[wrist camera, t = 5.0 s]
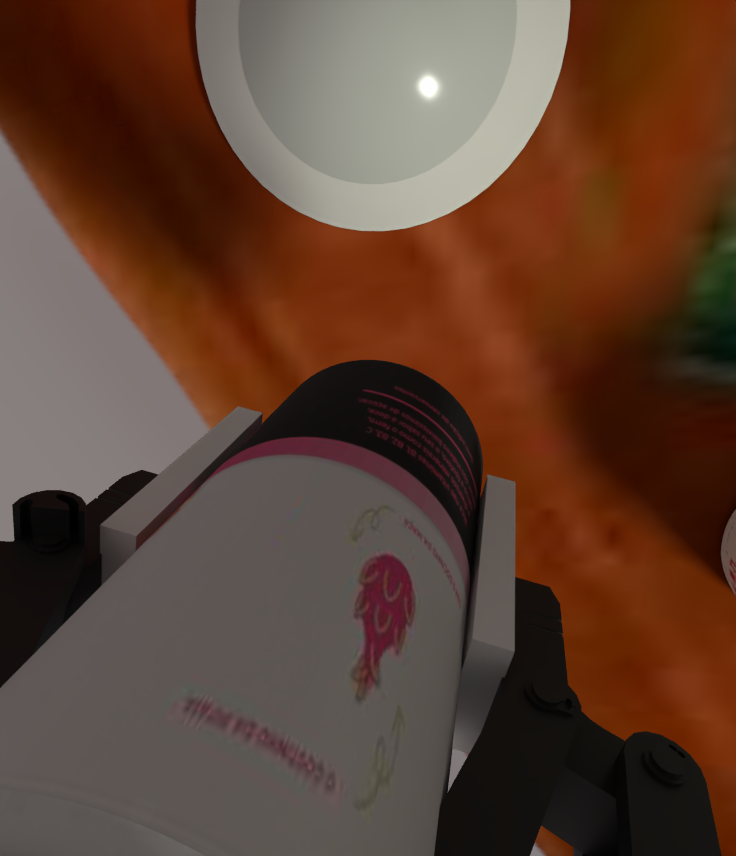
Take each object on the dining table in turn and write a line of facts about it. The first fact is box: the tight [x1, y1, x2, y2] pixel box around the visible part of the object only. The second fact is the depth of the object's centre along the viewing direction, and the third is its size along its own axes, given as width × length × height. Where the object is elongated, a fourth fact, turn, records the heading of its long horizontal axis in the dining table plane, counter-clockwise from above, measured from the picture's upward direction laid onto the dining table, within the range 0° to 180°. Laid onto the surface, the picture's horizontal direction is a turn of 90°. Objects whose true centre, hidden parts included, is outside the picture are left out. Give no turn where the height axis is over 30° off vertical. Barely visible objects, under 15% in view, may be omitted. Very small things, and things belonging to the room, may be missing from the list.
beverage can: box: [0, 360, 483, 856], centre depth 13 cm, size 6×6×15 cm
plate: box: [196, 0, 570, 231], centre depth 23 cm, size 14×14×1 cm
